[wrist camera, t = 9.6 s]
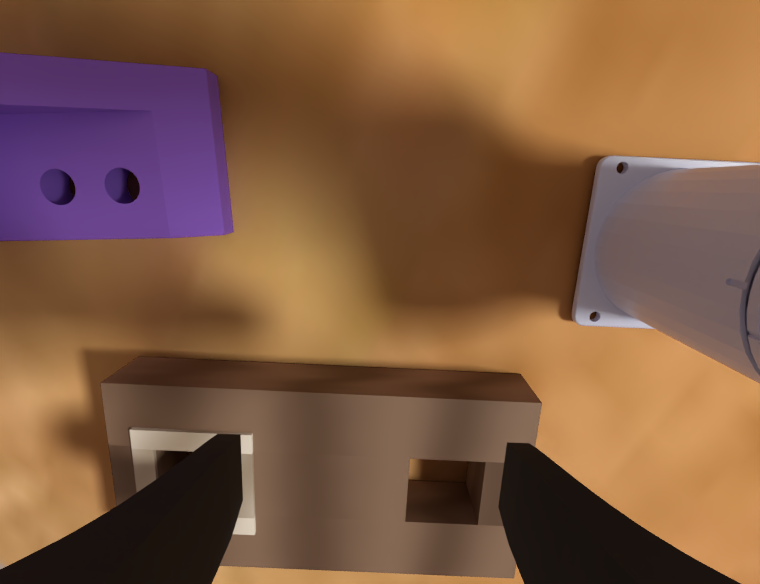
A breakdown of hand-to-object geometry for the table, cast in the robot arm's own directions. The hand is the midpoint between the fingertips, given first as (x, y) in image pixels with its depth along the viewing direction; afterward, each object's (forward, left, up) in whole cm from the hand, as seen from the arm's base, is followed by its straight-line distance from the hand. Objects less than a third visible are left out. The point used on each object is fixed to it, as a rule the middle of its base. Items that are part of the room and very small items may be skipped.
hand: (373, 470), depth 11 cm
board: (+2, +7, -10) cm, 13 cm away
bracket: (+13, -8, -11) cm, 19 cm away
